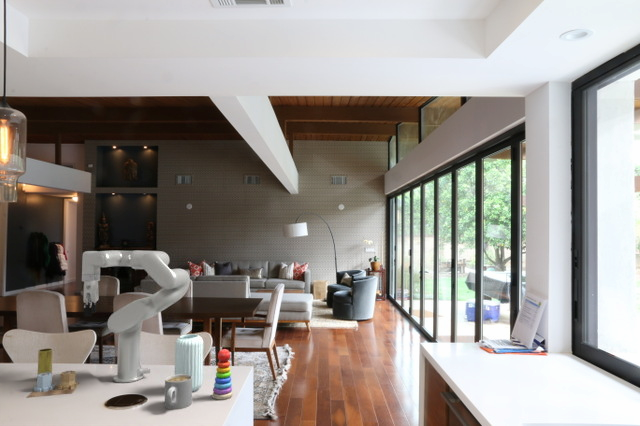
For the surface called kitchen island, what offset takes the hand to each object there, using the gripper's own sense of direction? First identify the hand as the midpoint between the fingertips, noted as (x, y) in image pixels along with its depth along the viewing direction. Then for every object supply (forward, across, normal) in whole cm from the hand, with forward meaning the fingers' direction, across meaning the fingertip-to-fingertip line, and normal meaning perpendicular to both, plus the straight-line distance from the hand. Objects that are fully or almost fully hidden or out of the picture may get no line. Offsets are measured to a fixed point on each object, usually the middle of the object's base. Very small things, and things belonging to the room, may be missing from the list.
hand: (89, 314), depth 207 cm
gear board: (+28, -20, +9) cm, 36 cm away
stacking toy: (+28, -44, -57) cm, 77 cm away
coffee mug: (+28, -49, -39) cm, 69 cm away
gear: (+27, -18, +13) cm, 35 cm away
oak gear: (+27, -18, +4) cm, 33 cm away
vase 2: (+28, -31, -44) cm, 61 cm away
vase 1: (+28, -3, +17) cm, 33 cm away
